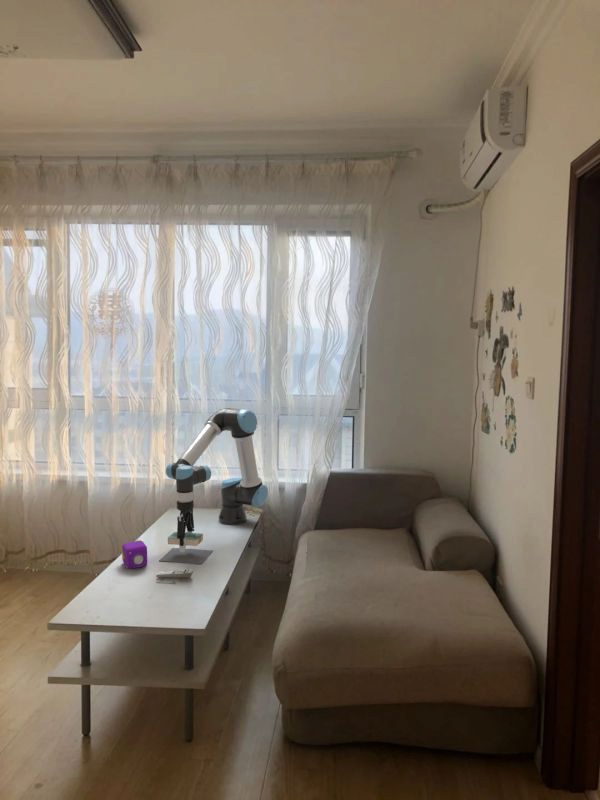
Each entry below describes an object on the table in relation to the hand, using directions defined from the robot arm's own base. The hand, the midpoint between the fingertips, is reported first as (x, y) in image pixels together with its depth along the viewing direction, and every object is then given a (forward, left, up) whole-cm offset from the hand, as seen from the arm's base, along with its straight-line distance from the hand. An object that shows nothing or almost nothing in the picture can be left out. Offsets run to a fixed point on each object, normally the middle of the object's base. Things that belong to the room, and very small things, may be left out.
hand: (186, 548), depth 267 cm
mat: (0, 0, -4) cm, 4 cm away
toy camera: (+14, -18, -4) cm, 23 cm away
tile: (0, -7, +5) cm, 9 cm away
